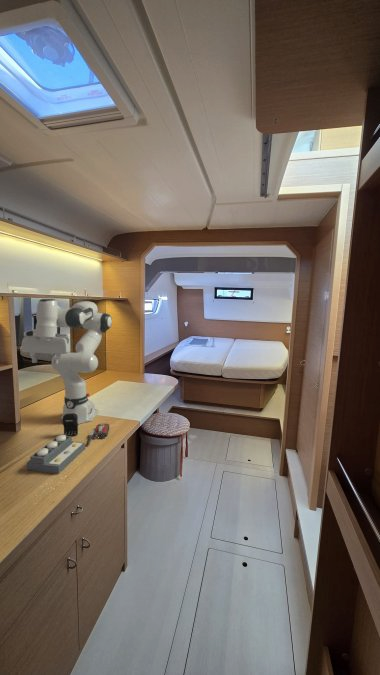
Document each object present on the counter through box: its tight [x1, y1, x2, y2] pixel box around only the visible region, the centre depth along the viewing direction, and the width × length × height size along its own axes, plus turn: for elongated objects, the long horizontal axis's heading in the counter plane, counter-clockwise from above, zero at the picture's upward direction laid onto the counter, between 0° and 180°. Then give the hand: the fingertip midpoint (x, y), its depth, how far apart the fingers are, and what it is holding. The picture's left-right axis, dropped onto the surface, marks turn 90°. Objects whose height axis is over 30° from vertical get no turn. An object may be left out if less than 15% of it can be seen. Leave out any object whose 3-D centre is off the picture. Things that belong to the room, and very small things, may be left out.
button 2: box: [55, 434, 66, 443], centre depth 122 cm, size 4×4×2 cm
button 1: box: [36, 447, 48, 457], centre depth 110 cm, size 4×4×2 cm
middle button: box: [46, 440, 58, 450], centre depth 116 cm, size 4×4×2 cm
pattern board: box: [26, 436, 86, 475], centre depth 116 cm, size 19×14×6 cm
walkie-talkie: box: [86, 423, 110, 446], centre depth 136 cm, size 9×4×20 cm
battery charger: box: [62, 413, 79, 437], centre depth 136 cm, size 7×4×11 cm, turn 99°
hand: (45, 363), depth 125 cm, fingers open, 8 cm apart
